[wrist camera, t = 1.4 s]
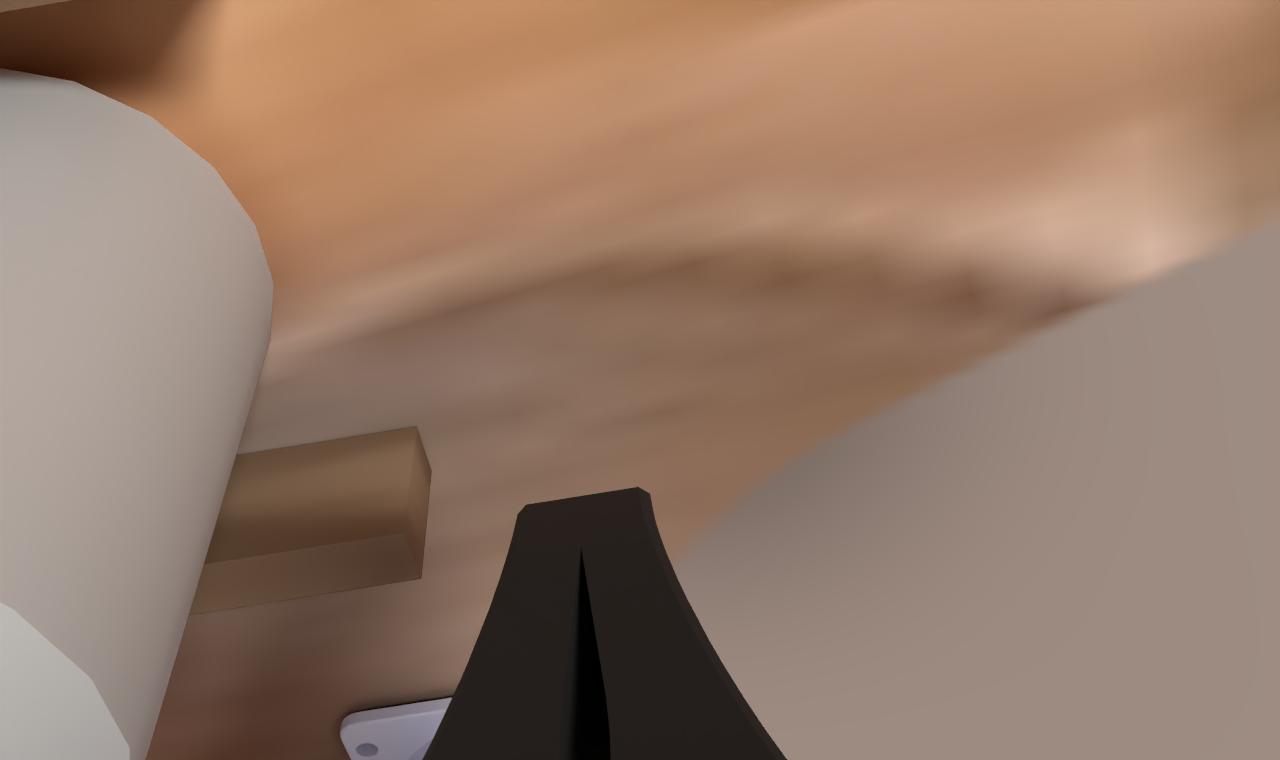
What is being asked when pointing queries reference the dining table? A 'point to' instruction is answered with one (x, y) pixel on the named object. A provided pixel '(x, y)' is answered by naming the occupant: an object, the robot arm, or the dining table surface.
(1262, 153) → the dining table surface
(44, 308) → the can
